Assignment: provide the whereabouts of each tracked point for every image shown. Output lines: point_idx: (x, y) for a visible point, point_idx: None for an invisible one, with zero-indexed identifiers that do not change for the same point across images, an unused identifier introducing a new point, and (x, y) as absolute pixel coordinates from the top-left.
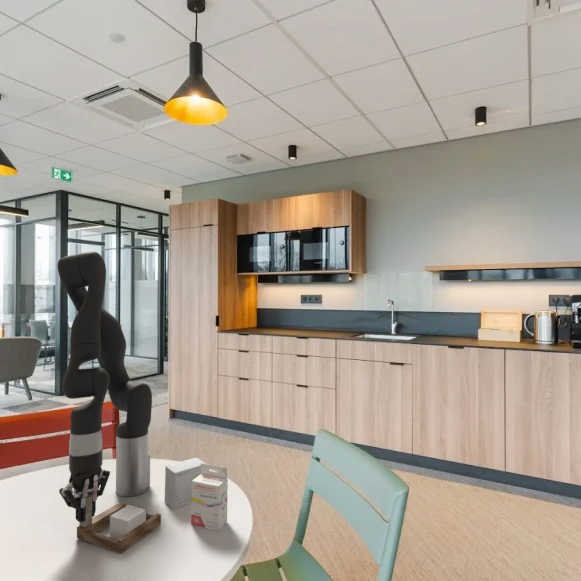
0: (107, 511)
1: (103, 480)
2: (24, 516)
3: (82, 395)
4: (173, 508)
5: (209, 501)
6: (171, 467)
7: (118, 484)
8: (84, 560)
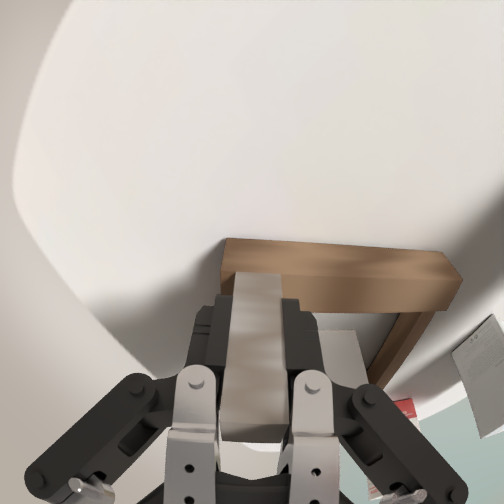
0: (390, 291)
1: (381, 488)
2: None
3: None
4: (452, 352)
5: None
6: None
7: None
8: (162, 331)
